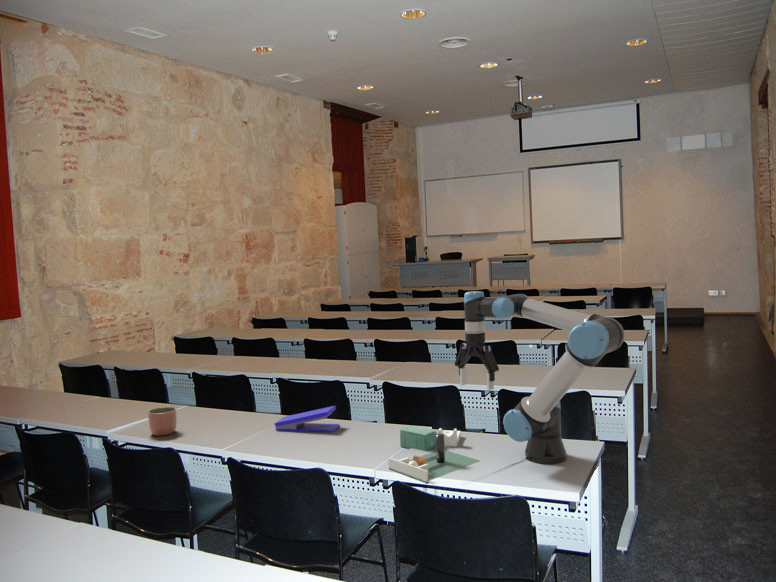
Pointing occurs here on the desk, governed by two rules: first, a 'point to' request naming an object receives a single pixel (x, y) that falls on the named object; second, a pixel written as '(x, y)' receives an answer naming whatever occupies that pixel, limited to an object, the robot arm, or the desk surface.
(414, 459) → the small squeegee
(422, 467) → the pitch
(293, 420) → the stapler
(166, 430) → the planter
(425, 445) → the box
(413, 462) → the ball
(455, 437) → the bracket
